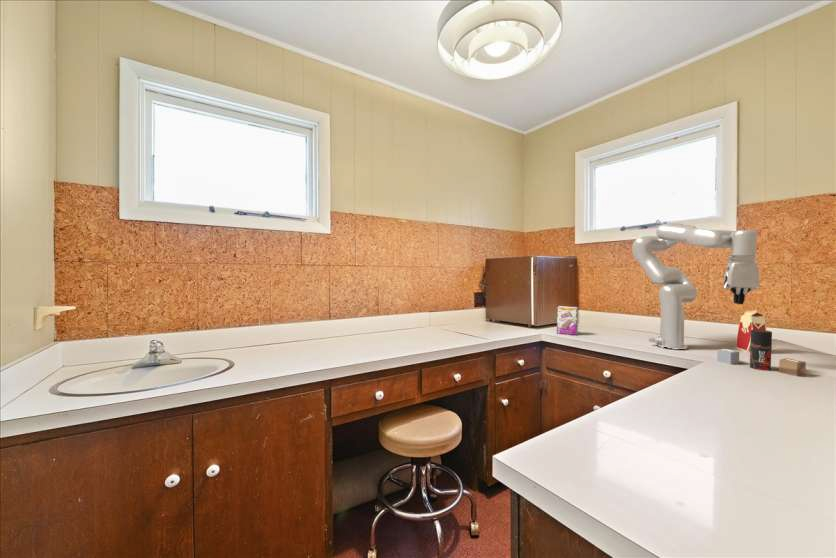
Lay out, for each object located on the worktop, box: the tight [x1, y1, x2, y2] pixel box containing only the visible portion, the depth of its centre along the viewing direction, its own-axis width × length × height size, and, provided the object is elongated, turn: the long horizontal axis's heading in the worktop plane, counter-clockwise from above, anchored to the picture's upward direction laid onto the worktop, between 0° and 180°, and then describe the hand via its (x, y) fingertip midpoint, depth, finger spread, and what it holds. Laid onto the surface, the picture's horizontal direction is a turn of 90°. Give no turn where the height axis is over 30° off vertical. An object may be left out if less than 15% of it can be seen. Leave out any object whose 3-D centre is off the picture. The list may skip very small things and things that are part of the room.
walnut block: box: [778, 358, 807, 377], centre depth 128 cm, size 5×5×5 cm
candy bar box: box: [556, 305, 579, 336], centre depth 203 cm, size 11×5×16 cm, turn 58°
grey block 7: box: [716, 348, 740, 365], centre depth 143 cm, size 5×5×5 cm
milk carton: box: [735, 309, 768, 353], centre depth 161 cm, size 9×9×20 cm
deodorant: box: [749, 329, 773, 372], centre depth 135 cm, size 6×6×15 cm
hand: (738, 303), depth 142 cm, fingers closed
